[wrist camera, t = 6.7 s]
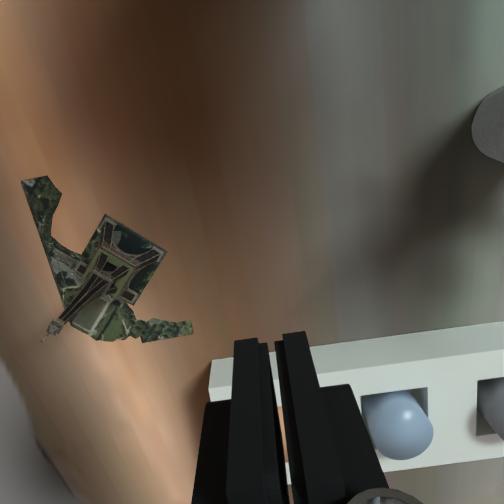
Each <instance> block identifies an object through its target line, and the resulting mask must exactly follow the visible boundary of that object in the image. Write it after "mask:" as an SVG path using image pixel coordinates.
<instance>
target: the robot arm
mask: <svg viewBox="0 0 504 504" xmlns="http://www.w3.org/2000/svg"><path fill="white" fill-rule="evenodd" d="M282 335H283V340H281V341H274V344H275V352H276V361H277V369H278V378H279V386H280V395H281V403H282V412H283V421H284V429H285V438H286V446H287V455H288V463H289V471H290V479H291V486H292V493H293V500H294V504H423V503H421V502H420V501H419V500H417V499H416V498H415V497H413V496H411V495H409V494H407V493H404V492H402V491H399V490H395V489H389V486H388V484H387V481H386V478H385V476H384V473H383V470H382V468H381V465H380V462H379V460H378V457H377V454H376V452H375V449H374V447H373V444H372V441H371V439H370V436H369V433H368V431H367V428H366V425H365V423H364V420H363V417H362V415H361V412H360V409H359V407H358V404H357V401H356V399H355V396H354V393H353V391H352V388H351V386H350V385H349V384H341V385H334V386H326V387H320V385H319V382H318V378H317V374H316V370H315V366H314V363H313V359H312V355H311V351H310V347H309V344H308V340H307V336H306V332H305V331H301V332H294V333H287V334H282ZM191 504H290V502H289V493H288V483H287V474H286V465H285V455H284V446H283V439H282V432H281V425H280V419H279V413H278V407H277V400H276V394H275V388H274V382H273V375H272V369H271V363H270V357H269V350H268V345H267V343H260V344H259V342H258V338H251V339H243V340H236V341H234V356H233V374H232V391H231V399H228V400H220V401H213V402H207V404H206V407H205V412H204V419H203V426H202V433H201V440H200V447H199V454H198V461H197V468H196V475H195V482H194V489H193V496H192V503H191Z"/></svg>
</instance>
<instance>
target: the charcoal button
mask: <svg viewBox="0 0 504 504" xmlns="http://www.w3.org/2000/svg"><path fill="white" fill-rule="evenodd" d="M477 411H478V412H479V413H480V414H481V415H482V417H483V418H484V419H485V420H486V421H487V422H488V424H489V425H490V426H491V427H492V428H493V429H494V431H495V432H496V433H497V434H498V435H499V436H500V438H501V439H503V440H504V377H499V378H491V379H484V380H479V381H478V383H477Z"/></svg>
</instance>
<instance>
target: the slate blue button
mask: <svg viewBox="0 0 504 504" xmlns="http://www.w3.org/2000/svg"><path fill="white" fill-rule="evenodd" d="M362 414H363V417H364V419H365V422H366V424H367V426H368V429H369V431H370V433H371V436H372V438H373V440H374V443H375V445H376V447H377V449H378V451H379V452H380V453H381V454H382V455H384V456H385V457H387V458H390V459H393V460H407V459H411V458H414V457H416V456H418V455H420V454H421V453H423V452H424V451H425V450H426V449H427V448H428V447H429V445H430V444H431V442H432V439H433V434H434V431H433V426H432V424H431V422H430V420H429V419H428V417H427V416H426V414H425V413H424V411H423V410H422V408H421V407H420V405H419V404H418V402H417V401H416V399H415V398H414V396H413V395H412V393H411V392H410V391H409V390H400V391H393V392H385V393H377V394H370V395H368V396H367V397H366V399H365V401H364V403H363V407H362Z"/></svg>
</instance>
